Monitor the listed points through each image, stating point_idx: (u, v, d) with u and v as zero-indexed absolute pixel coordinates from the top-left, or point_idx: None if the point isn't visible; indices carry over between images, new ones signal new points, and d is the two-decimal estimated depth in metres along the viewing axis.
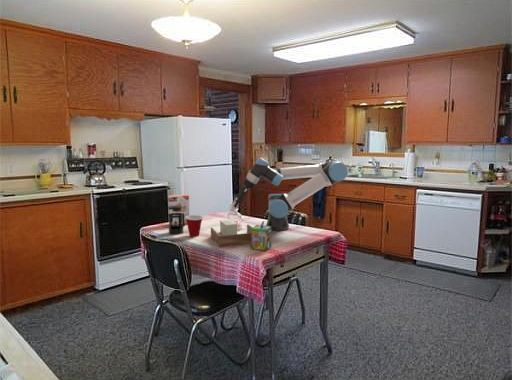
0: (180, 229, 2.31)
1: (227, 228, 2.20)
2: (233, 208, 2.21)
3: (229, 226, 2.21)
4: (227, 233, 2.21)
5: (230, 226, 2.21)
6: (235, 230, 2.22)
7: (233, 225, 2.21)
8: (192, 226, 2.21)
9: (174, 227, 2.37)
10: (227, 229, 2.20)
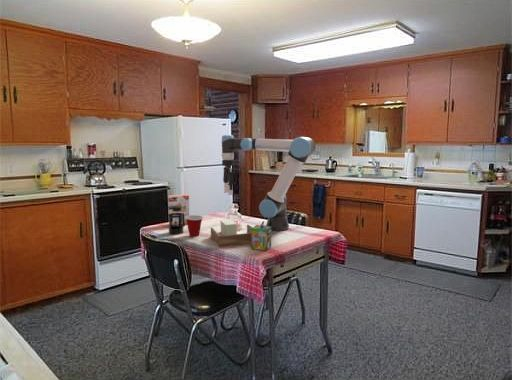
0: (180, 229, 2.31)
1: (226, 228, 2.20)
2: (230, 191, 2.33)
3: (229, 226, 2.20)
4: (226, 233, 2.21)
5: (230, 226, 2.21)
6: (235, 230, 2.22)
7: (233, 225, 2.21)
8: (192, 226, 2.21)
9: (174, 227, 2.37)
10: (226, 229, 2.20)
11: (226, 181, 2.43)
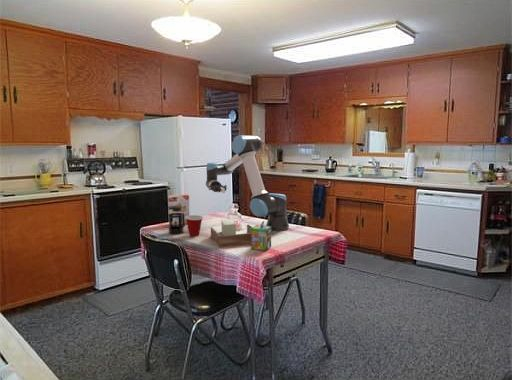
0: (180, 229, 2.31)
1: (225, 228, 2.20)
2: (221, 190, 2.36)
3: (227, 226, 2.20)
4: (225, 233, 2.21)
5: (228, 226, 2.21)
6: (234, 230, 2.22)
7: (232, 225, 2.21)
8: (192, 226, 2.21)
9: (174, 227, 2.37)
10: (225, 229, 2.20)
11: None
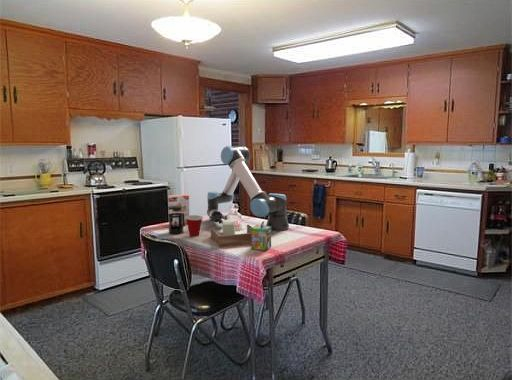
0: (180, 229, 2.31)
1: (224, 228, 2.20)
2: (222, 222, 2.36)
3: (226, 226, 2.20)
4: (224, 233, 2.20)
5: (227, 226, 2.20)
6: (232, 231, 2.21)
7: (230, 225, 2.20)
8: (192, 226, 2.21)
9: (174, 227, 2.37)
10: (224, 229, 2.20)
11: (222, 219, 2.41)
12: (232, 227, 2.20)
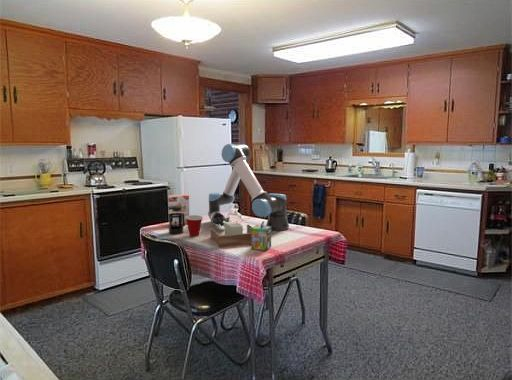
0: (180, 229, 2.31)
1: (233, 230, 2.14)
2: (224, 224, 2.29)
3: (235, 228, 2.14)
4: None
5: (236, 228, 2.15)
6: (241, 232, 2.16)
7: (239, 227, 2.15)
8: (192, 226, 2.21)
9: (174, 227, 2.37)
10: (233, 231, 2.14)
11: None
12: (240, 229, 2.16)
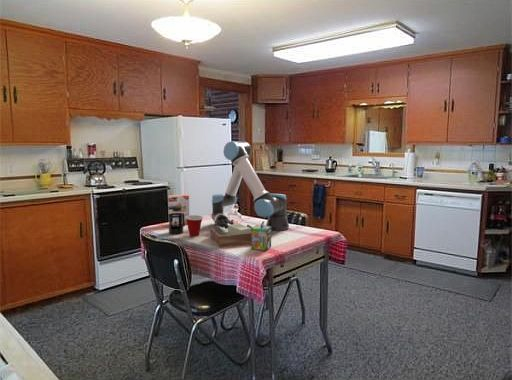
0: (180, 229, 2.31)
1: (242, 233, 2.08)
2: None
3: (244, 231, 2.08)
4: None
5: (245, 231, 2.09)
6: None
7: (247, 229, 2.10)
8: (192, 226, 2.21)
9: (174, 227, 2.37)
10: None
11: (228, 224, 2.27)
12: (249, 231, 2.10)
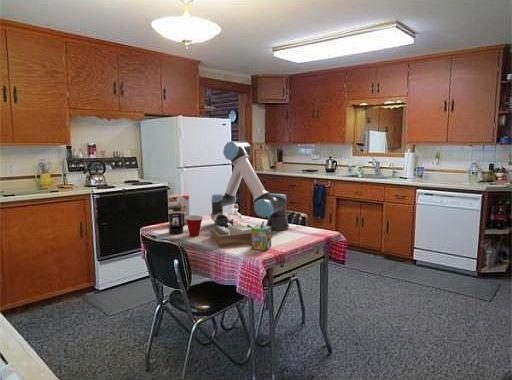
0: (180, 229, 2.31)
1: None
2: (228, 226, 2.22)
3: (246, 231, 2.07)
4: None
5: (247, 231, 2.07)
6: None
7: (250, 230, 2.09)
8: (192, 226, 2.21)
9: (174, 227, 2.37)
10: None
11: None
12: None
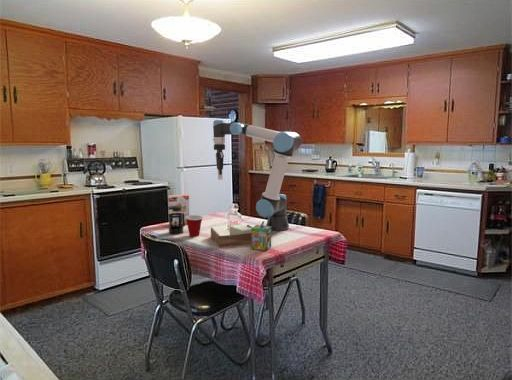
0: (180, 229, 2.31)
1: None
2: (220, 176, 2.43)
3: (246, 231, 2.07)
4: None
5: (247, 231, 2.08)
6: None
7: (249, 230, 2.09)
8: (192, 226, 2.21)
9: (174, 227, 2.37)
10: None
11: None
12: None
